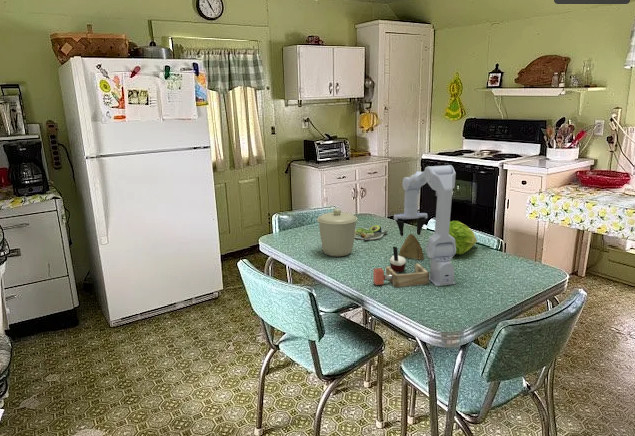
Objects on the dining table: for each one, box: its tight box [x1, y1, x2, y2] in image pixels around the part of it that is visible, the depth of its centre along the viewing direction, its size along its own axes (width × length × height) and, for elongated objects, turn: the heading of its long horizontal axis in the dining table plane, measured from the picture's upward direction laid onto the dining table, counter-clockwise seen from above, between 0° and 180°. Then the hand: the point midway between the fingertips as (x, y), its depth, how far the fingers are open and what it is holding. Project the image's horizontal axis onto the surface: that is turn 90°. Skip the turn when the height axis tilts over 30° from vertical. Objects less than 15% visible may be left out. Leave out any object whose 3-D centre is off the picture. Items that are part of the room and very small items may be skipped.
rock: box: [398, 233, 424, 261], centre depth 201 cm, size 11×9×10 cm
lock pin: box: [372, 267, 403, 286], centre depth 174 cm, size 3×11×5 cm, turn 102°
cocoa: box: [389, 246, 407, 273], centre depth 185 cm, size 10×6×12 cm, turn 132°
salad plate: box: [354, 224, 389, 241], centre depth 233 cm, size 19×18×5 cm
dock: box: [385, 263, 430, 288], centre depth 177 cm, size 10×13×4 cm
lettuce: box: [449, 220, 478, 255], centre depth 206 cm, size 15×25×16 cm
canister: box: [316, 208, 358, 257], centre depth 207 cm, size 18×18×21 cm
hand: (410, 234), depth 201 cm, fingers open, 7 cm apart
